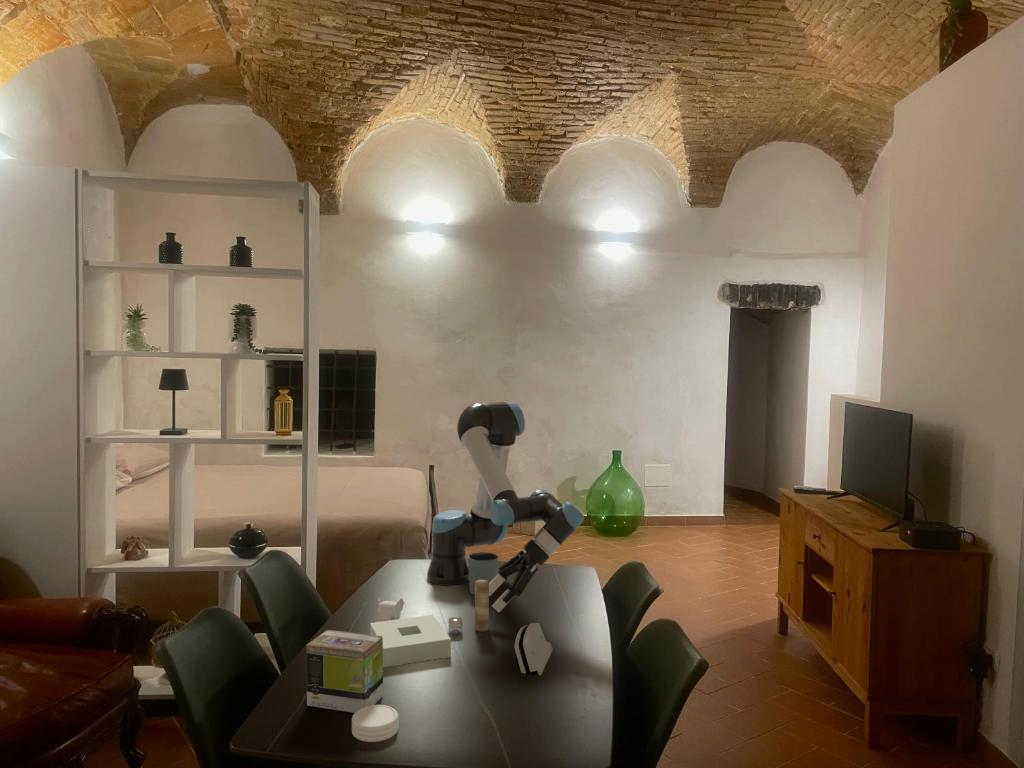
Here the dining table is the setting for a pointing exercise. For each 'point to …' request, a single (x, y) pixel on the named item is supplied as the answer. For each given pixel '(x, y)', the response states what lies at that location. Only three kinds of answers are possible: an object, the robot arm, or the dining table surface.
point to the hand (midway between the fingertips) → (490, 600)
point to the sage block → (412, 640)
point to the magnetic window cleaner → (532, 648)
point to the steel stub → (455, 626)
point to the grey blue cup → (481, 568)
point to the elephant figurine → (389, 609)
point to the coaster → (375, 723)
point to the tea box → (344, 670)
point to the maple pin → (481, 605)
